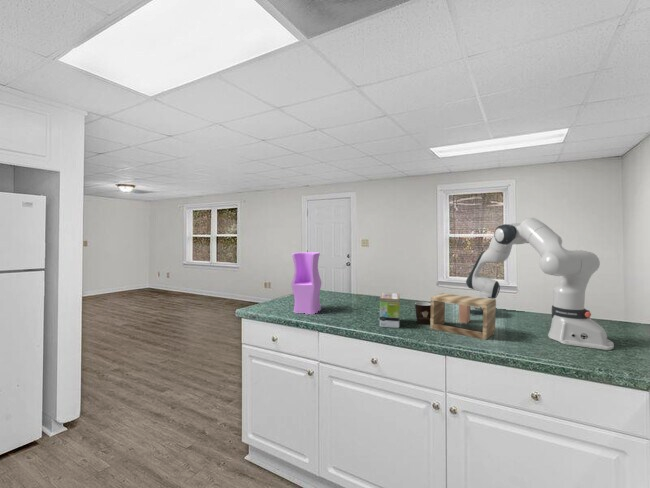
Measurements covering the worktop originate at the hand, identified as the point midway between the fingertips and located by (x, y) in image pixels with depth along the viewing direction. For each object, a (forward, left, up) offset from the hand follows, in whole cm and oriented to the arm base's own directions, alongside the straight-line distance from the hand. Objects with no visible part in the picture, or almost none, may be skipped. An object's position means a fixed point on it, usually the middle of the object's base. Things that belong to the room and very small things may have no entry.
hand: (472, 306), depth 183 cm
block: (0, +12, -6) cm, 13 cm away
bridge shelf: (-5, +29, -6) cm, 30 cm away
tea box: (+28, +41, -6) cm, 50 cm away
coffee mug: (+14, +28, -6) cm, 32 cm away
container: (+79, +50, -6) cm, 94 cm away
